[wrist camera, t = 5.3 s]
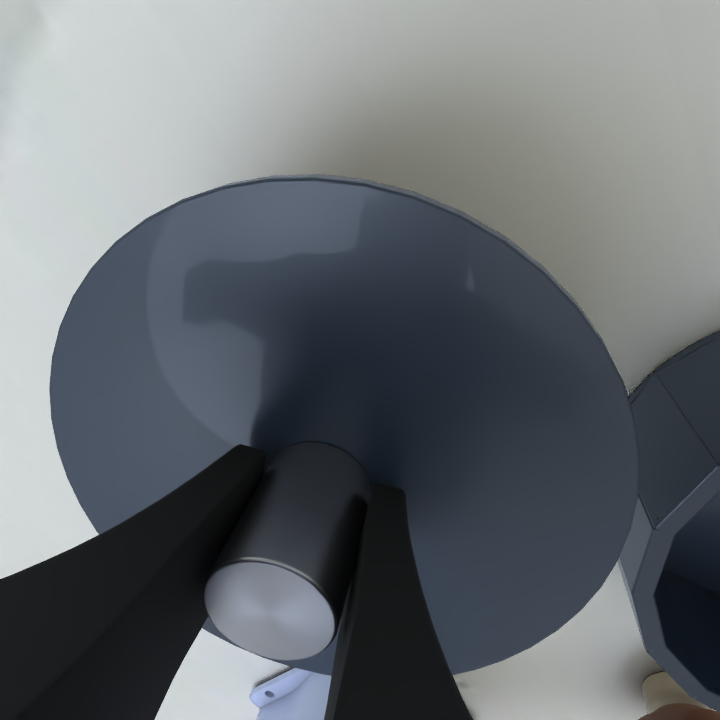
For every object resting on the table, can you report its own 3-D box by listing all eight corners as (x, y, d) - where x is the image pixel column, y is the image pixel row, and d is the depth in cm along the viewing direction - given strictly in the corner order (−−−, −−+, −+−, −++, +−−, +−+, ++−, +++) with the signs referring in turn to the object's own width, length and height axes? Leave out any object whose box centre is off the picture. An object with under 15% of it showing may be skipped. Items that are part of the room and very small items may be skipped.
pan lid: (331, 698, 17) (288, 879, 13) (-7, 412, 15) (-188, 530, 11) (753, 512, 12) (900, 728, 8) (329, -3, 9) (214, -86, 5)
